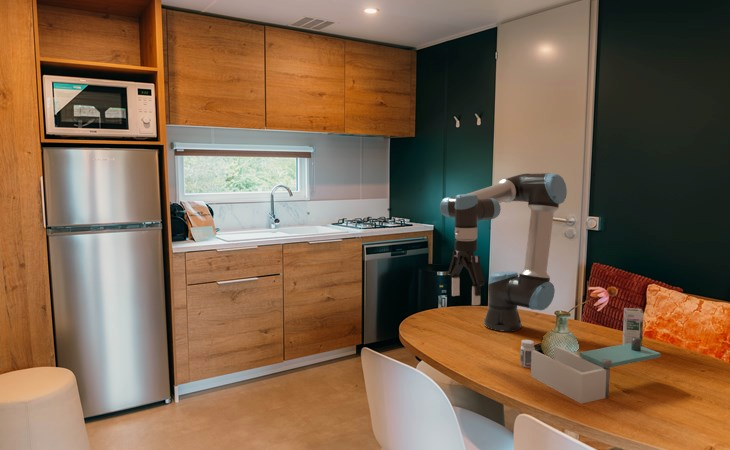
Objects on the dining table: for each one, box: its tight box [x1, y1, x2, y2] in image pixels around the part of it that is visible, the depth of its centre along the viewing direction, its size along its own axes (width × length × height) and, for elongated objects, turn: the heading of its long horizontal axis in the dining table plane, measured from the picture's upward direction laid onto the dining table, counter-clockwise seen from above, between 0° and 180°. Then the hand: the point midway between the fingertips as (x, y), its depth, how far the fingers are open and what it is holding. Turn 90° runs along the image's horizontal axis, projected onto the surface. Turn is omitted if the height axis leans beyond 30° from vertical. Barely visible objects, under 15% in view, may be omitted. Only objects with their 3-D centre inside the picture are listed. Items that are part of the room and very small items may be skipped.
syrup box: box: [622, 307, 644, 347], centre depth 191 cm, size 6×6×14 cm
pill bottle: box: [519, 339, 536, 369], centre depth 176 cm, size 5×5×8 cm
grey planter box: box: [530, 345, 611, 405], centre depth 158 cm, size 11×22×9 cm, turn 22°
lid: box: [578, 337, 661, 369], centre depth 158 cm, size 11×22×5 cm, turn 112°
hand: (465, 300), depth 180 cm, fingers open, 13 cm apart
